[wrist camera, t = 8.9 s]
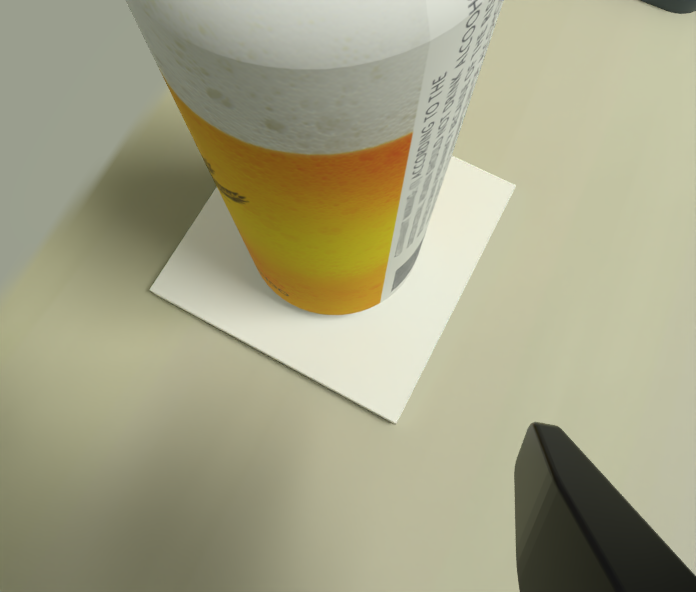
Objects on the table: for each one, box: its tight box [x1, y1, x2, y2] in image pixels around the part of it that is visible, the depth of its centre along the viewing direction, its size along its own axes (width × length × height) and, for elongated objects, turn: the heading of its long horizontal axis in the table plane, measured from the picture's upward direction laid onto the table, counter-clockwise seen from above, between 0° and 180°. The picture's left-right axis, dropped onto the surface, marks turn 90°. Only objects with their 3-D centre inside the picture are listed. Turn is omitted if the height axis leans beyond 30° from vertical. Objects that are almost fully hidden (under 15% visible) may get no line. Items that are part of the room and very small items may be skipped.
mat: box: [150, 156, 516, 424], centre depth 22 cm, size 10×10×1 cm
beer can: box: [126, 0, 504, 315], centre depth 14 cm, size 6×6×15 cm
